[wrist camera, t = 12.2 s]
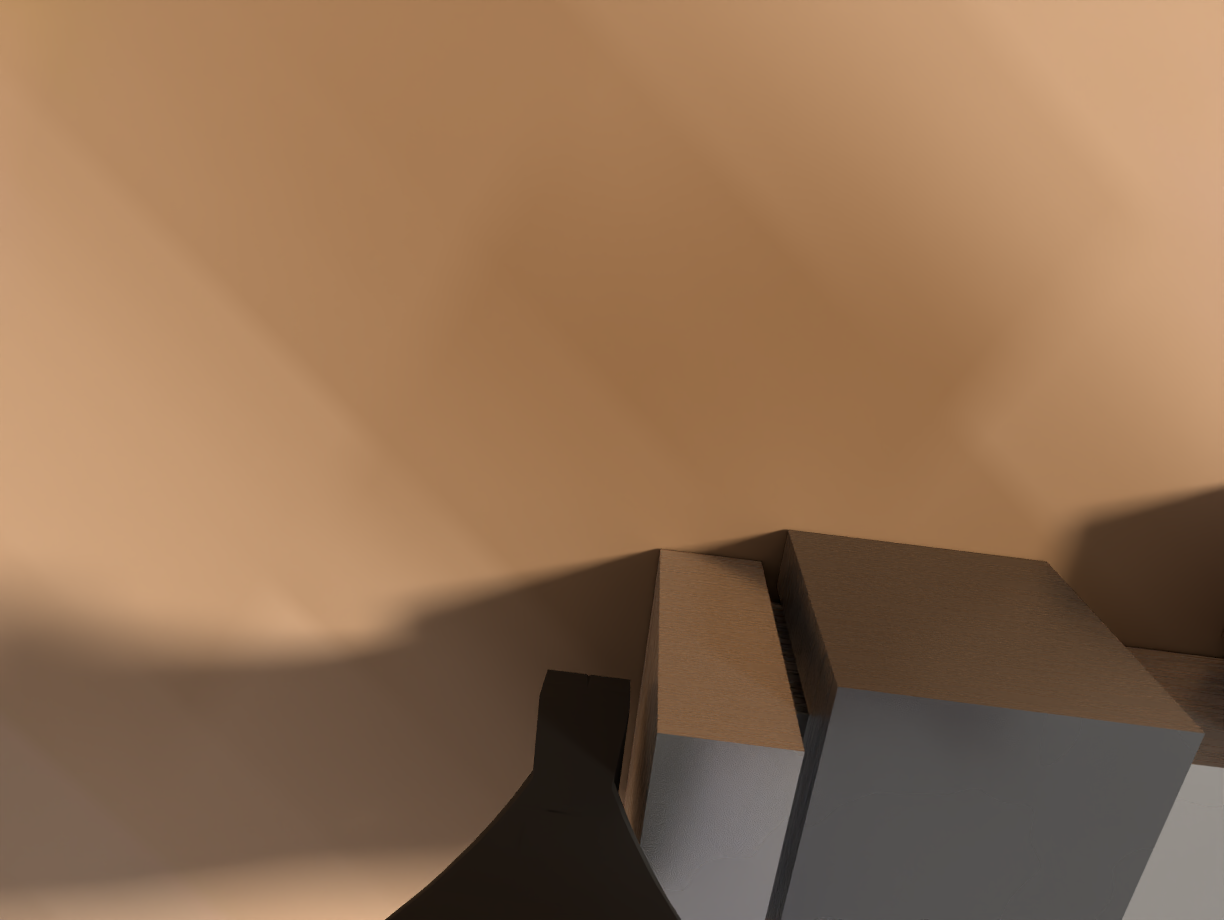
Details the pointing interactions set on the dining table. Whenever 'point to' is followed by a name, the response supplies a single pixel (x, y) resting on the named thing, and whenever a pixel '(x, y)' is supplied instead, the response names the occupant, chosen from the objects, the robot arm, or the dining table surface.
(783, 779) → the pin
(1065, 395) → the dining table surface
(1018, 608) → the block
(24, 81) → the dining table surface
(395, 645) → the dining table surface
